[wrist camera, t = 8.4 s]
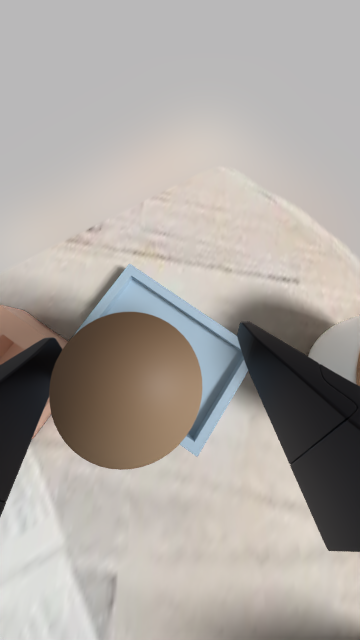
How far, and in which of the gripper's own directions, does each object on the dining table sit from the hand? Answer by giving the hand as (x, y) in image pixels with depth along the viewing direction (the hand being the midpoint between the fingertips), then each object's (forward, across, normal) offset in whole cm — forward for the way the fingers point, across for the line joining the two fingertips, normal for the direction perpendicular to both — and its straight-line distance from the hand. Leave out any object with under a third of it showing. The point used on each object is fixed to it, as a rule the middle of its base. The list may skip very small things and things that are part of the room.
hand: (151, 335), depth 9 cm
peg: (+4, 0, +6) cm, 7 cm away
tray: (+5, 0, +6) cm, 8 cm away
